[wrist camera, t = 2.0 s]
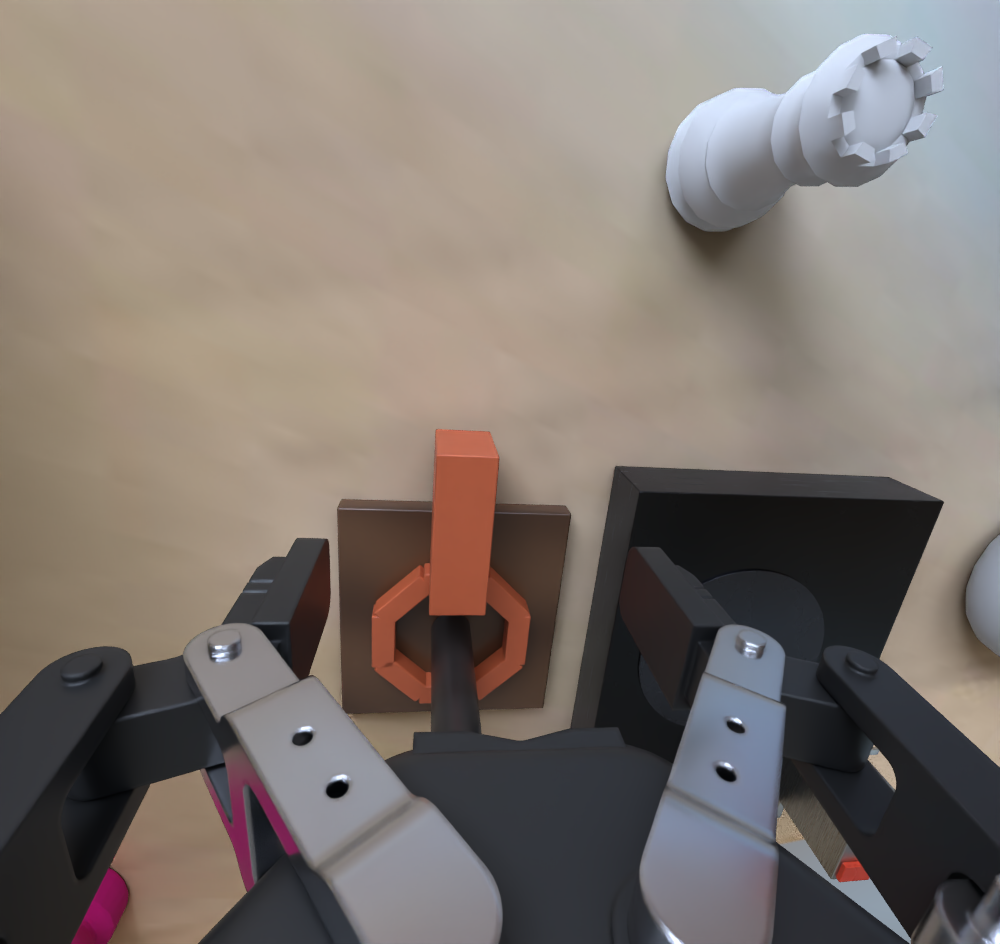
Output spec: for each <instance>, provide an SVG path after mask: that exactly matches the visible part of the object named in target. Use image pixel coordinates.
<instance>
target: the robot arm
mask: <svg viewBox="0 0 1000 944" xmlns="http://www.w3.org/2000/svg"><path fill="white" fill-rule="evenodd" d="M330 594H331V591H330V554H329V542H328V539H320V538H297V539H296V540H295V542H294V543H293V545H292V547H291V549H290V551H289V553H288V554H287V556H286V557H272V558H271V559H269V560H268V561H266V562H265V563H263V564H262V565H260V566H259V567H257V569H256V570H255V572H254V574H253V575H252V577H251V578H250V580H249V583H247V585H246V586H245V588H244V589H243V593H241V594H240V596H239V597H238V599H237V601H236V602H235V604H234V605H233V607H232V609H231V610H230V612H229V613H228V615H227V617H226V618H225V620H224V621H223V623H222V625H220V626H216V627H213V628H211V629H208V630H206V631H204V632H202V633H200V634H199V635H197V636H195V637H194V638H193V639H192V640H191V641H190V642H189V643H188V644H187V645H186V647H185V649H184V652H183V655H181V656H178V657H175V658H171V659H167V660H162V661H157V662H152V663H147V664H142V665H137V666H133V665H132V659H131V656H130V654H129V653H128V652H127V651H125V650H124V649H121V648H118V647H108V646H104V647H94V648H88V649H84V650H80V651H77V652H74V653H71V654H69V655H67V656H64V657H62V658H60V659H58V660H56V661H54V662H53V663H51V664H49V665H48V666H47V667H45V668H44V669H43V670H41V671H40V672H39V673H38V674H37V675H36V676H35V677H34V679H33V680H32V681H31V682H30V683H29V684H28V685H27V686H26V687H25V688H24V689H23V690H22V692H21V693H20V694H19V695H18V696H17V697H16V698H15V699H14V700H13V701H12V702H11V703H10V705H9V706H8V707H7V708H6V709H5V710H4V711H3V712H2V713H1V714H0V944H71V943H72V941H73V939H74V937H75V935H76V933H77V931H78V929H79V927H80V925H81V923H82V921H83V919H84V917H85V915H86V913H87V911H88V909H89V907H90V905H91V903H92V901H93V899H94V897H95V895H96V893H97V891H98V889H99V887H100V885H101V883H102V881H103V879H104V877H105V875H106V873H107V871H108V869H109V867H110V865H111V863H112V861H113V859H114V857H115V855H116V853H117V851H118V849H119V847H120V845H121V842H122V840H123V838H124V836H125V834H126V832H127V830H128V828H129V826H130V824H131V822H132V820H133V818H134V816H135V814H136V812H137V810H138V808H139V806H140V804H141V802H142V800H143V798H144V796H145V794H146V792H147V790H148V788H149V786H150V784H152V783H155V782H159V781H162V780H165V779H169V778H172V777H176V776H179V775H183V774H186V773H190V772H193V771H196V770H200V772H201V775H202V777H203V779H204V781H205V784H206V786H207V788H208V790H209V793H210V795H211V797H212V799H213V801H214V804H215V806H216V808H217V810H218V813H219V815H220V817H221V819H222V822H223V824H224V826H225V828H226V830H227V833H228V835H229V837H230V839H231V842H232V844H233V847H234V850H235V854H236V857H237V861H238V865H239V869H240V873H241V876H242V879H243V882H244V885H245V888H246V891H247V893H246V894H245V895H244V896H243V897H242V898H241V899H240V900H239V901H238V902H237V903H236V905H235V906H234V907H233V908H232V909H231V910H230V911H229V912H228V913H227V914H226V915H225V916H224V917H223V918H222V919H221V920H220V921H219V922H218V923H217V924H216V925H215V926H214V927H213V928H212V929H211V930H210V932H209V933H208V934H207V935H206V936H205V937H204V938H203V939H202V940H201V941H200V942H199V943H198V944H909V943H908V942H907V941H905V940H904V939H903V938H901V937H900V936H899V935H897V934H896V933H895V932H894V931H892V930H891V929H890V928H888V927H887V926H886V925H884V924H883V923H882V922H880V921H879V920H878V919H876V918H875V917H874V916H873V915H871V914H870V913H868V912H867V911H866V910H865V909H863V908H862V907H861V906H859V905H858V904H857V903H855V902H854V901H853V900H851V899H850V898H849V897H848V896H846V895H845V894H844V893H842V892H841V891H840V890H838V889H837V888H836V887H834V886H833V885H832V884H831V883H829V882H828V881H827V880H825V879H824V878H822V877H821V876H820V875H819V874H817V873H816V872H815V871H814V870H812V869H811V868H810V867H808V866H807V865H806V864H804V863H803V862H802V861H800V860H799V859H798V858H796V857H795V856H794V855H793V854H791V853H790V852H788V851H787V850H786V849H785V848H783V847H782V846H781V845H779V844H778V843H777V842H776V826H777V814H778V802H779V791H780V779H781V767H782V757H786V758H790V759H791V761H792V762H793V764H794V766H795V767H796V769H797V770H798V772H799V773H800V775H801V776H802V778H803V779H804V781H805V782H806V783H807V785H808V786H809V788H810V789H811V791H812V792H813V794H814V795H815V797H816V798H817V800H818V801H819V803H820V804H821V806H822V807H823V809H824V810H825V812H826V813H827V815H828V816H829V818H830V819H831V821H832V822H833V824H834V825H835V827H836V828H837V830H838V831H839V833H840V834H841V836H842V837H843V839H844V840H845V842H846V843H847V845H848V846H849V848H850V849H851V851H852V852H853V853H854V855H855V856H856V858H857V859H858V861H859V862H860V864H861V865H862V867H863V868H864V870H865V871H866V873H867V874H868V876H869V877H870V879H871V880H872V881H873V883H874V885H875V886H876V888H877V889H878V891H879V892H880V893H881V895H882V896H883V898H884V900H885V901H886V903H887V904H888V906H889V907H890V908H891V910H892V912H893V913H894V914H895V916H896V918H897V919H898V921H899V922H900V924H901V925H902V926H903V928H904V929H905V931H906V932H907V934H908V935H909V937H910V938H911V944H1000V767H999V766H997V765H996V764H995V763H994V762H993V761H992V760H991V759H990V758H989V757H988V756H987V755H985V754H984V753H983V752H982V751H981V750H980V749H979V748H978V747H977V746H976V745H975V744H973V743H972V742H971V741H970V740H969V739H968V738H967V737H966V736H965V735H964V734H963V733H961V732H960V731H959V730H958V729H957V728H956V727H955V726H954V725H953V724H952V723H950V722H949V721H948V720H947V719H946V718H945V717H944V716H943V715H942V714H941V713H940V712H938V711H937V710H936V709H935V708H934V707H933V706H932V705H931V704H930V703H929V702H928V701H926V700H925V699H924V698H923V697H922V696H921V695H920V694H919V693H918V692H917V691H916V690H914V689H913V688H912V687H911V686H910V685H909V684H908V683H907V682H906V681H905V680H903V679H902V678H901V677H900V676H899V675H898V674H897V673H896V672H895V671H894V670H893V669H891V668H890V667H889V666H888V665H887V664H885V663H884V662H882V661H881V660H879V659H878V658H876V657H874V656H872V655H870V654H868V653H866V652H864V651H861V650H858V649H855V648H851V647H847V646H839V645H836V646H829V647H827V648H826V649H825V650H824V652H823V654H822V657H821V660H820V663H816V662H812V661H807V660H802V659H797V658H793V657H788V656H785V652H784V650H783V648H782V646H781V645H780V644H779V643H778V642H777V641H776V640H774V639H773V638H772V637H770V636H769V635H767V634H765V633H763V632H761V631H759V630H757V629H754V628H751V627H748V626H743V625H737V624H736V623H735V621H734V620H733V619H732V618H731V617H730V616H729V615H728V613H727V612H726V611H725V610H724V609H723V608H722V607H721V605H720V604H719V603H718V602H717V601H716V600H715V599H713V596H712V595H711V594H710V593H709V592H708V591H707V589H704V586H703V585H702V584H701V582H700V581H699V580H698V579H697V578H696V577H695V576H694V575H693V574H691V573H690V572H688V571H687V570H685V569H683V568H682V567H680V566H679V565H674V563H673V562H672V561H671V560H670V559H669V557H668V556H667V555H666V554H665V553H664V551H663V550H662V549H661V548H659V547H632V548H631V549H630V550H629V552H628V556H627V561H626V566H625V571H624V576H623V582H622V587H621V592H620V599H619V605H620V613H621V616H622V619H623V621H624V623H625V625H626V626H627V628H628V630H629V632H630V634H631V636H632V637H633V639H634V641H635V643H636V645H637V647H638V648H639V650H640V652H641V654H642V656H643V658H644V659H645V661H646V663H647V665H648V667H649V668H650V670H651V672H652V674H653V676H654V678H655V679H656V681H657V683H658V685H659V687H660V689H661V690H662V692H663V694H664V696H665V698H666V700H667V701H668V703H669V705H670V707H671V709H672V711H676V710H691V711H690V714H689V717H688V720H687V723H686V727H685V730H684V733H683V736H682V739H681V742H680V745H679V748H678V751H677V754H676V757H675V760H674V763H673V764H672V763H670V762H669V761H667V760H666V759H664V758H662V757H660V756H658V755H656V754H654V753H651V752H649V751H646V750H644V749H641V748H637V747H634V746H631V745H626V744H625V743H624V740H623V738H622V736H621V733H620V731H619V728H618V727H608V728H570V729H566V730H562V731H559V732H555V733H551V734H547V735H543V736H540V737H536V738H532V739H528V740H524V741H516V740H510V739H505V738H500V737H495V736H489V735H484V734H479V733H473V732H468V731H450V732H414V739H413V750H411V751H407V752H404V753H401V754H398V755H396V756H393V757H391V758H388V759H387V760H385V761H384V759H383V758H382V757H381V756H380V754H379V753H378V752H377V751H376V750H375V748H374V747H373V746H372V745H371V743H370V742H369V741H368V740H367V738H366V737H365V736H364V735H363V733H362V732H361V731H360V730H359V729H358V727H357V726H356V725H355V724H354V722H353V721H352V720H351V719H350V717H349V716H348V715H347V714H346V712H345V711H344V710H343V709H342V708H341V706H340V705H339V704H338V703H337V701H336V700H335V699H334V698H333V696H332V695H331V694H330V693H329V692H328V690H327V689H326V688H325V687H324V685H323V684H322V683H321V682H320V681H319V679H318V678H316V677H315V676H313V675H310V676H308V675H309V672H310V669H311V666H312V663H313V660H314V657H315V654H316V651H317V648H318V645H319V642H320V639H321V636H322V633H323V629H324V626H325V623H326V620H327V617H328V613H329V607H330ZM873 745H875V746H876V747H877V748H878V750H879V751H880V752H881V753H882V754H883V755H884V756H885V758H886V759H887V760H888V761H889V763H890V764H891V766H892V768H893V770H894V773H895V777H896V790H895V793H894V791H893V790H892V789H891V788H890V787H889V785H888V784H887V783H886V782H885V781H884V779H883V778H882V777H881V776H880V775H879V773H878V772H877V771H876V770H875V769H874V767H873V766H872V765H871V764H870V763H869V761H868V760H867V759H868V757H869V754H870V752H871V750H872V748H873Z"/></svg>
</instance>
